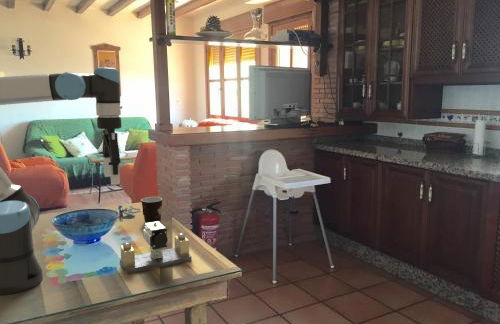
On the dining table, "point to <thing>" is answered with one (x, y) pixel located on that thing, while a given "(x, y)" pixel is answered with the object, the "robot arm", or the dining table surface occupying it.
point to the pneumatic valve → (155, 238)
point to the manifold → (146, 262)
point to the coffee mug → (152, 208)
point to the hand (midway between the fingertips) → (112, 180)
